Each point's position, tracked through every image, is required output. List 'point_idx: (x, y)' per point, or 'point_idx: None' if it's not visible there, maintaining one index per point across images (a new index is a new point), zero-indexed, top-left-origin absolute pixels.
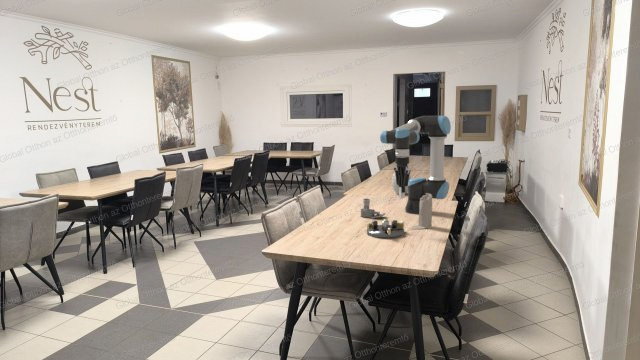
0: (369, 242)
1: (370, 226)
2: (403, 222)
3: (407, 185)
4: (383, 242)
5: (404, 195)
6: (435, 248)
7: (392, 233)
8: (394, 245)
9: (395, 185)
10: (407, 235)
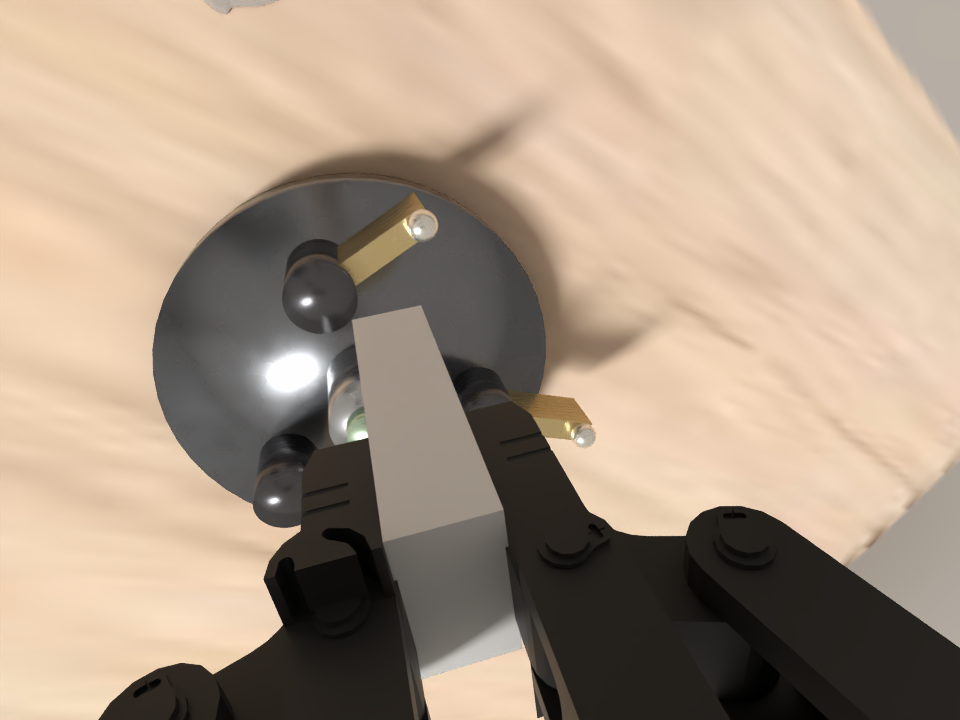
0: None
1: None
2: (436, 223)
3: (783, 532)
4: None
5: (432, 341)
6: (897, 120)
7: (506, 353)
8: (684, 389)
9: None
10: (501, 184)
